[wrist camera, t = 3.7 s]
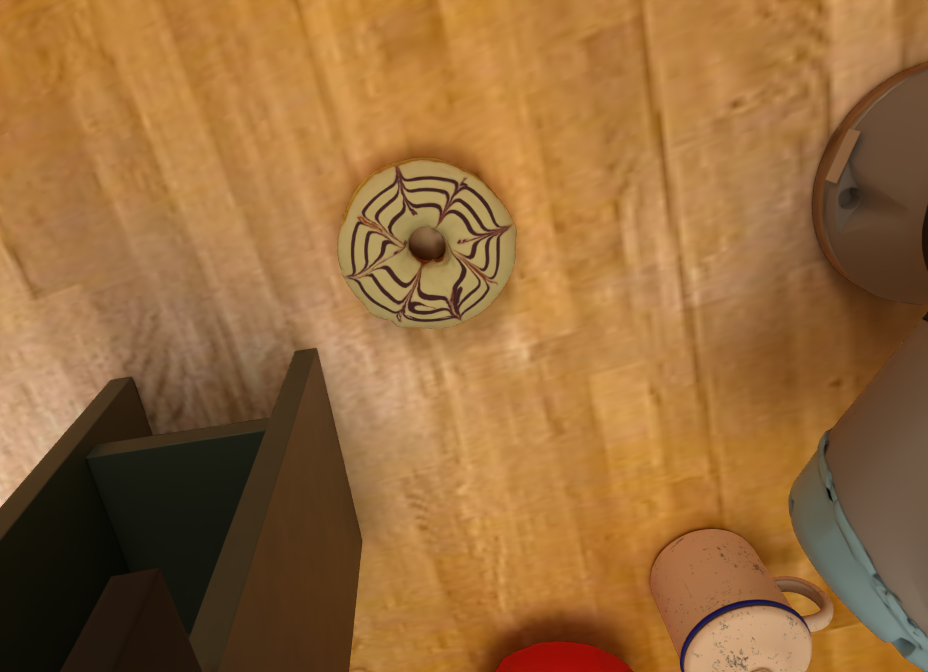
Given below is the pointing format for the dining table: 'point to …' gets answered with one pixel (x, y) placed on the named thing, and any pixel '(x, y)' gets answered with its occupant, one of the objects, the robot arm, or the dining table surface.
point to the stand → (190, 533)
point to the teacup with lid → (732, 607)
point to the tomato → (562, 659)
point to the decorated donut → (403, 274)
